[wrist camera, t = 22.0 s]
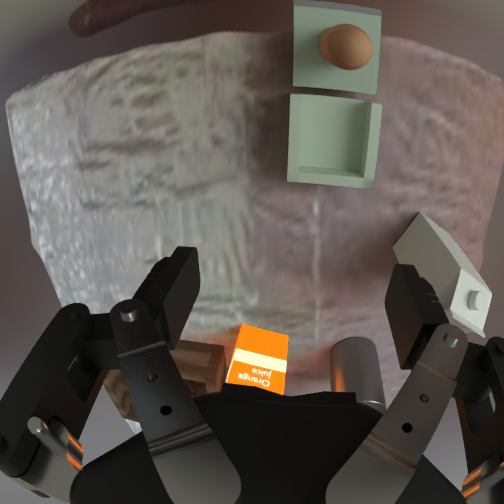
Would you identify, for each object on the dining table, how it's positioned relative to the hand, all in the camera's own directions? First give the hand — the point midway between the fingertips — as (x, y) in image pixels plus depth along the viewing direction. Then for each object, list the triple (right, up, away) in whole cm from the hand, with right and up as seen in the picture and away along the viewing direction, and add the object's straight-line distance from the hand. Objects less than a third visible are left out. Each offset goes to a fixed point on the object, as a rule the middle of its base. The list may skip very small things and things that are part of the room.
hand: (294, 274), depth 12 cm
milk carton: (+24, +3, +30) cm, 39 cm away
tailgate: (+8, +19, +19) cm, 28 cm away
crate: (+8, +16, +25) cm, 30 cm away
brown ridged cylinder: (+8, +23, +15) cm, 29 cm away
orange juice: (0, -16, +45) cm, 48 cm away
